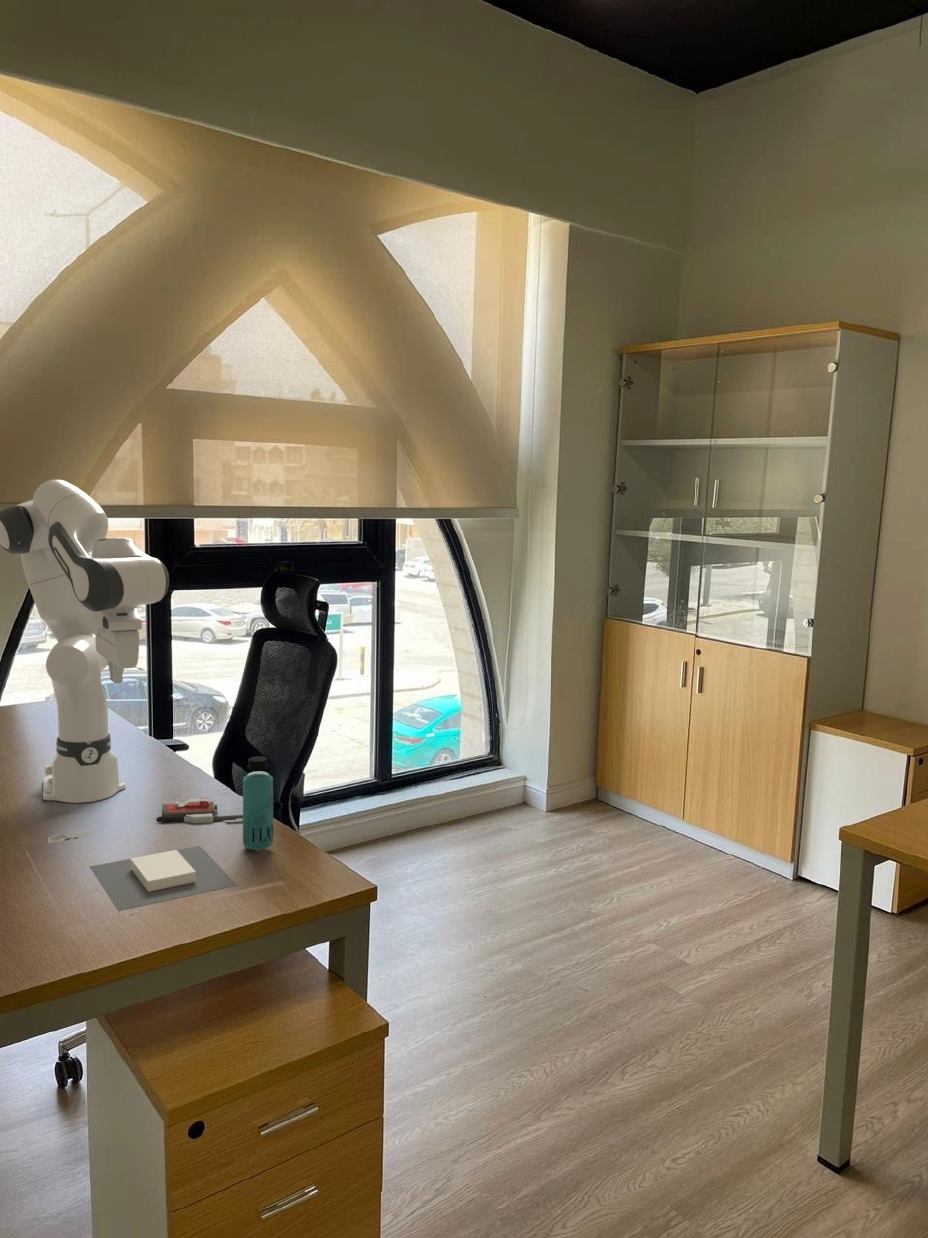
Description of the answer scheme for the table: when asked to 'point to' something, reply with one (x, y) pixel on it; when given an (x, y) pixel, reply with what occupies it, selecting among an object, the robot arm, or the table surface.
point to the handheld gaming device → (68, 836)
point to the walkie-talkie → (193, 812)
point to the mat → (133, 894)
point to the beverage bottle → (258, 805)
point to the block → (163, 870)
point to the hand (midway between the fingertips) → (116, 681)
